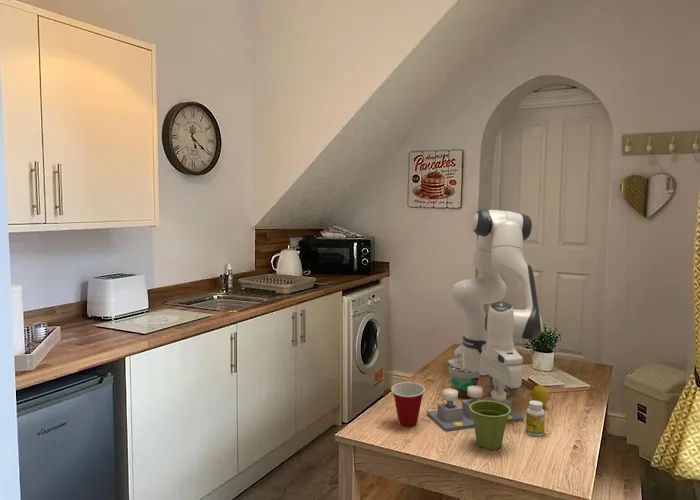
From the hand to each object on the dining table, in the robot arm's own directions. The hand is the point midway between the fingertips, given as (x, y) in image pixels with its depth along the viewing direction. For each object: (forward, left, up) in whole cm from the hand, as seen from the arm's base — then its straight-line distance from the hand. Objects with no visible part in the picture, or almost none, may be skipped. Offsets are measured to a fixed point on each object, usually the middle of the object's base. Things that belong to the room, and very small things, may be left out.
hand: (498, 392), depth 185 cm
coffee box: (-15, +12, -8) cm, 21 cm away
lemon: (-1, +17, -8) cm, 19 cm away
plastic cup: (-2, -32, -8) cm, 33 cm away
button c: (0, -18, -4) cm, 18 cm away
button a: (0, 0, -6) cm, 6 cm away
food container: (-19, -4, -8) cm, 21 cm away
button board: (0, -9, -8) cm, 12 cm away
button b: (0, -9, -4) cm, 10 cm away
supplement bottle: (+16, +3, -8) cm, 18 cm away
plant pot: (+19, -15, -8) cm, 25 cm away
